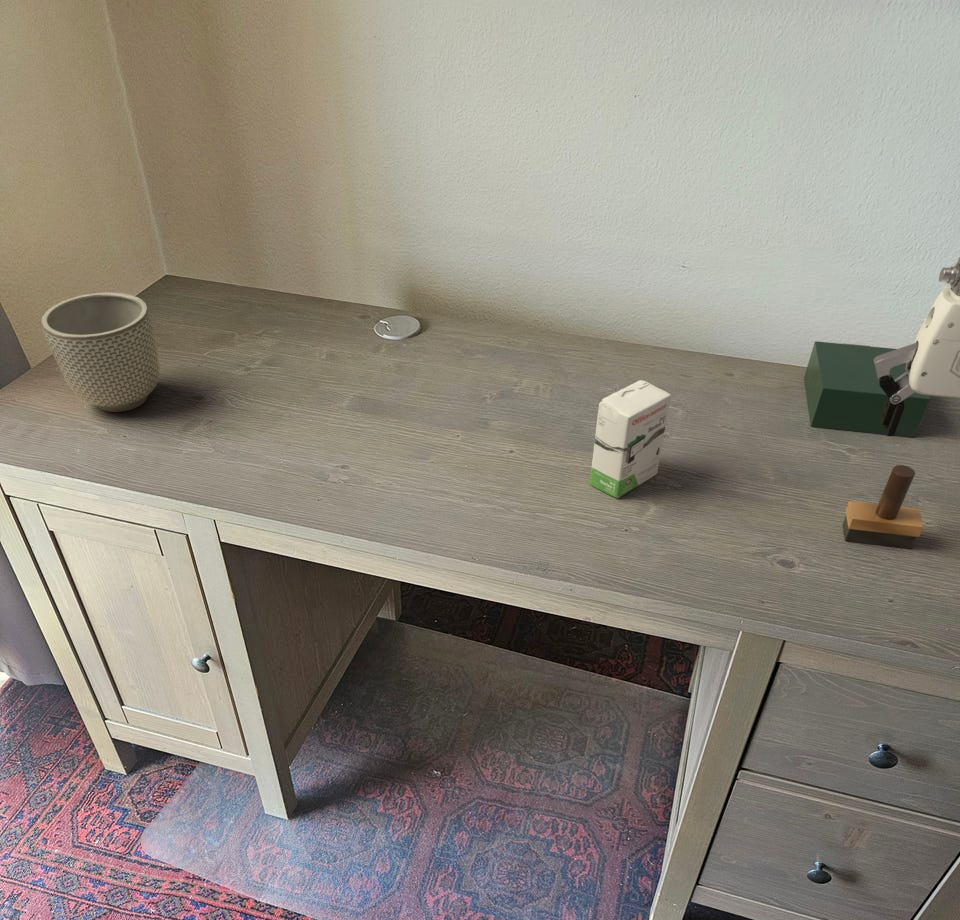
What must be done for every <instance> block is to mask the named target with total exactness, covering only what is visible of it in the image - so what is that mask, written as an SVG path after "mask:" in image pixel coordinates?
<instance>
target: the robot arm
mask: <svg viewBox="0 0 960 920" xmlns="http://www.w3.org/2000/svg"><path fill="white" fill-rule="evenodd" d="M938 282H941V283H946V284H947V285H946V286H944V287H943V288H942V290H941V291H940V293H939V294H938V296H937V298H936V299H935V301H934V302H933V304H932V306H931V308H930V309H929V311H928V313H927V315H926V316H925V319H924V320H923V322H922V324H921V326H920V329H919V330H918V333H917V335H916V338H915V340H914V342H913V343H911V344H908V345H906V346H902V347H899V348H895V349H896V350H893V351H890V352H887V353H884V354H881V355H878V356H876V357H875V358H874V364H875V369H876V373H877V377H878V381H879V385H880V387H881V388H882V389H883V391H884V392H885V394H886V395H887V396H888V398H887V400H886V403H885V406H884V409H883V411H882V414H881V418H880V423H881V425H884V429H885V432H886V435H885V436H886V437H893V436H895V435H894V434H895V431H896V429H897V426H898V423H899V421H900V418H901V415H902V413H903V410H904V402H903V400H904V399H906V398H907V397H909V396H910V395H912V394H913V393H915V392H916V393H919V394H923V395H929V396H930V397H931V396H933V397H941V398H942V397H943V398H957V399H960V257H958V259H957V262H956V263H955V264H954V265H953V266H950V267H942V268H941V269H940V272H939V275H938ZM906 362H907V363H906ZM903 363H906V367H905V370H906V372H905V373H903V374H902V375H901V376H899V377H898V378H896V379H895V380H894V379H893V378H892V376H891V375H890V373H889V371H890V369H891V368H892V367H894V366H897V365H900V364H903Z"/></svg>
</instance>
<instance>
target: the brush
mask: <svg viewBox="0 0 960 920" xmlns="http://www.w3.org/2000/svg"><path fill="white" fill-rule="evenodd" d="M915 476H916V471H915V469H913V468H912V467H910V466H908V465H904V464H897V465H894V466H893V468H892V470H891V471H890V474H889V477H888V479H887V481H886V484H885V487H884V489H883V492H882V494H881V496H880V499H879V501H878V503H872V502H863V501H853V500H849V501H848V503H847V506H846V508H845V517H844V520H843V522H842V531H843V536H844V541H845V542H851V543H859V544H868V545H875V546H883V547H891V548H899V549H907V550H911V549H912V546H913V545H914V543H915V541H916V539H917V538H920V536H921V534H922V532H923V529H924V523H923V519H922V516H921V512H920V509H919V508H913V507H905V506H902V505H903V503H904V501H905V498H906V496H907V494H908V491H909V489H910V487H911V486H912V485H911V484H912V483H913V480H914V478H915Z"/></svg>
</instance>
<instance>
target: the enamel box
mask: <svg viewBox="0 0 960 920" xmlns="http://www.w3.org/2000/svg"><path fill="white" fill-rule="evenodd" d="M850 344H851V343H844V344H843V343H838V342H828V341H814V344H813V346H812V349H811V353H810V356H809V359H808V363H807V366H806V370H805V374H804V377H803V381H804V389H805V396H806V403H807V409H808V417H809V424H810V427H812V428H821V429H828V430H829V429H830V430H837V431H839V430H840V431H849V432H858V433H859V432H860V433H868V434H877V435H885V436H886V432H885V429H884V425H881V423H880V418H881V414H882V411H883V409H884V406H885V403H886V400H887V398H888V396H887V395H886V394H885V392H884V391H883V389H882V388H881V387H880V385H879V381H878V377H877V373H876V369H875V364H874V358H875V357H876V356H878V355H881V354H884V353H887V352H890V351H893V350H896V349H897V348H891V347H880V346H871V345H866V346H860V345H861V344H855V345H850ZM906 363H907V362H906ZM906 363H903V364H900V365H897V366H894V367H892V368H891V369H890V371H889V373H890V375H891V376H892V378H893V379H894V380H895V379H896V378H898V377H899V376H901V375H902V374H903V373H905V372H906V370H905V367H906ZM930 401H931V395H923V394H919V393H916V392H915V393H913V394H912V395H910V396H909V397H907V398H906V399H904V400H903V402H904V410H903V413H902V415H901V418H900V421H899V423H898V426H897V429H896V431H895V434H894V435H893V436H895V437H905V438H915V437H916V434H917V432H918V429H919V428H920V427H921V425H922V423H923V420H924V419H925V418H924V417H925V415H926V414H927V411H928V408H929V403H930Z"/></svg>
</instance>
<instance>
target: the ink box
mask: <svg viewBox="0 0 960 920" xmlns="http://www.w3.org/2000/svg"><path fill="white" fill-rule="evenodd" d="M671 398H672V394H671V393H669V392H667V391H665V390H663V389H661V388H659V387H657V386H655V385H653V384H652V383H650V382H648V381H646V380H641V379H640V380H637V381H635V382H634V383H631V384H629V385H628V386H626V387H624V388H622V389H619V390H618V391H616V392H614V393H612V394H610V395H608V396H606V397H603V398H602V399H601V401H600V402H599V404H598V411H597V418H596V428H595V435H594V444H593V452H592V453H593V454H592V460H591V461H592V462H591V468H590V469H591V470H590V477H589V485H591V486H592V487H594V488H596V489H598V490H599V491H602V492H603V493H605V494H607V495H609V496H611V497H614V498H615V499H619V498H621V497H622V496H624V495H626V494H627V493H629V492H631V491H633V490H634V489H635V488H638V486H640V485H642V484H643V483H645V482H647V481H649V480H650V479H652V478H653V477H655V476H657V474H658V471H659V464H660V459H661V454H662V449H663V441H664V437H665V431H666V425H667V420H668V415H669V409H670V404H671Z"/></svg>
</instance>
